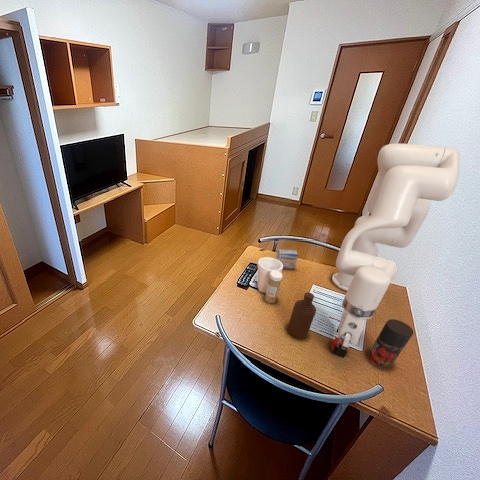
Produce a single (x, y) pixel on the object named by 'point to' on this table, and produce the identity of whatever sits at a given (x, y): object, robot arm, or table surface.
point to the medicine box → (287, 258)
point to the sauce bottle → (302, 317)
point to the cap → (335, 342)
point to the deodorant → (390, 343)
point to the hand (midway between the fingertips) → (339, 344)
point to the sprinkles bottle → (273, 286)
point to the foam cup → (266, 271)
